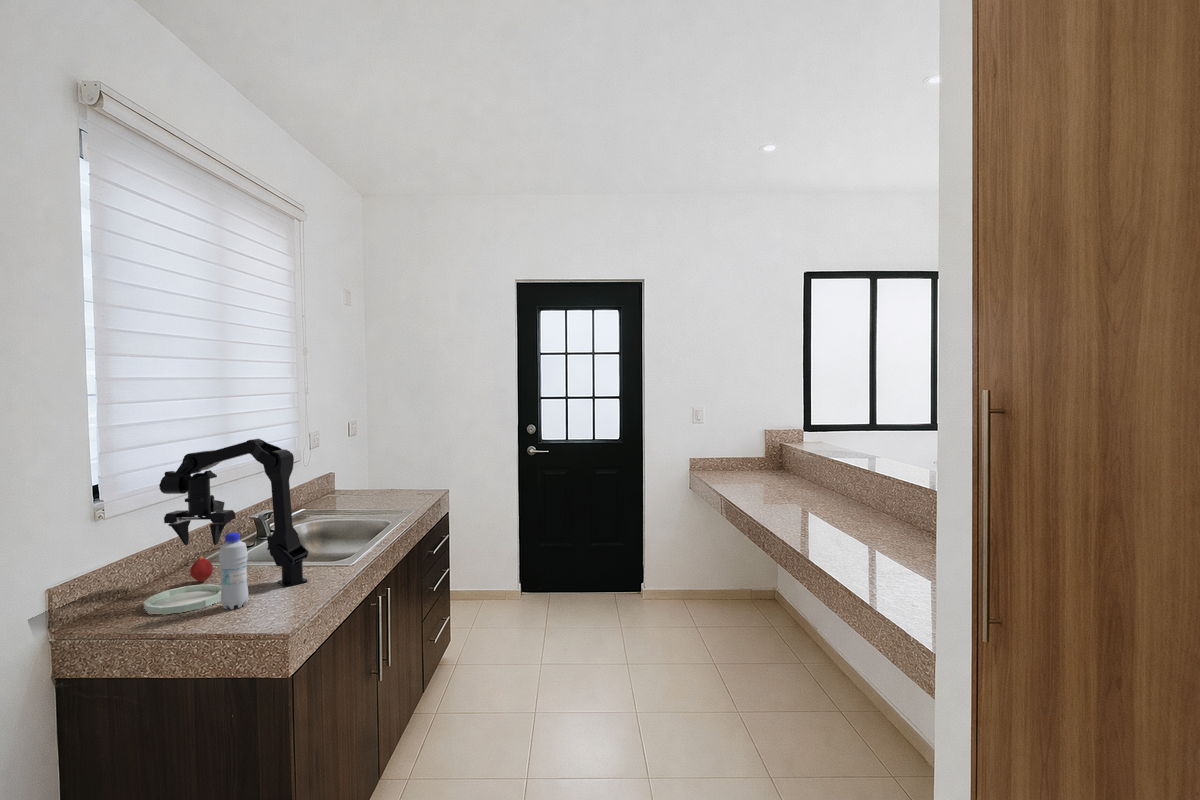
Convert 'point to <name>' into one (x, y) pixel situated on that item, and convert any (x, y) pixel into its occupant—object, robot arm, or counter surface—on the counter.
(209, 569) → the onion
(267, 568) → the counter surface
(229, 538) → the bottle
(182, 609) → the plate
